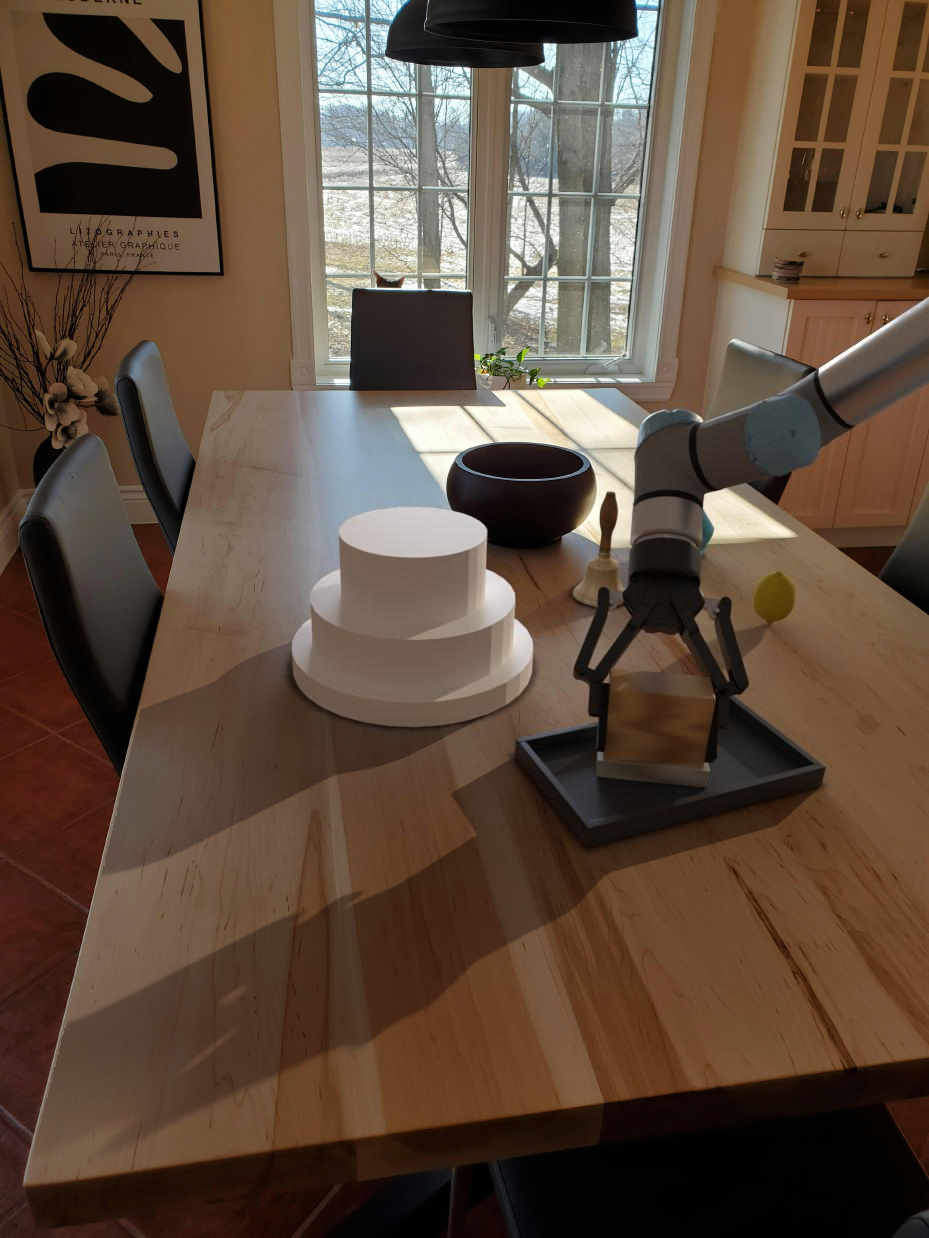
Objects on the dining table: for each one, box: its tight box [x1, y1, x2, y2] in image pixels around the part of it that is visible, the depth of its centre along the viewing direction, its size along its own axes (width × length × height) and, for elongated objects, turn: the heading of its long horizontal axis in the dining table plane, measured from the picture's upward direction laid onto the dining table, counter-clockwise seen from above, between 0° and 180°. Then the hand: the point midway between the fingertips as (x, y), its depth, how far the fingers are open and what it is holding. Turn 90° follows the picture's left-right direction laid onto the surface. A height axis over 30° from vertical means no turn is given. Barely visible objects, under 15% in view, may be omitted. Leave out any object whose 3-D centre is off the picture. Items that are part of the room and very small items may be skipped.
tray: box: [514, 695, 827, 849], centre depth 93 cm, size 16×28×2 cm, turn 112°
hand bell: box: [572, 490, 625, 608], centre depth 130 cm, size 8×8×16 cm
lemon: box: [752, 570, 797, 625], centre depth 125 cm, size 6×6×8 cm
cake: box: [291, 506, 534, 728], centre depth 110 cm, size 30×30×18 cm
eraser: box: [596, 667, 716, 788], centre depth 91 cm, size 11×6×10 cm, turn 82°
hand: (655, 754), depth 89 cm, fingers closed on eraser, 10 cm apart
